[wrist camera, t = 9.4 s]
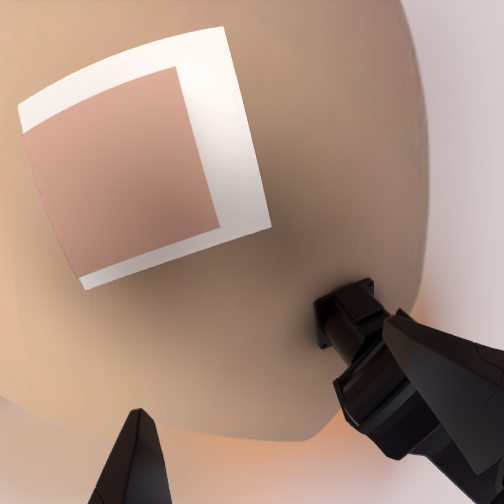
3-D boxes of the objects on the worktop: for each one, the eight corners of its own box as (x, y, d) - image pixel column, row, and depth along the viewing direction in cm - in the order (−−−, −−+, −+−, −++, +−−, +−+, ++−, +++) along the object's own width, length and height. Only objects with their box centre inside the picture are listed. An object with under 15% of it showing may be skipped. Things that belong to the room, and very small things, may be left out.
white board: (265, 220, 21) (271, 227, 19) (90, 280, 19) (85, 290, 17) (219, 33, 14) (222, 26, 13) (27, 106, 12) (17, 105, 11)
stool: (175, 93, 14) (175, 66, 8) (202, 191, 17) (220, 227, 11) (76, 131, 13) (21, 134, 7) (108, 225, 16) (77, 278, 10)
